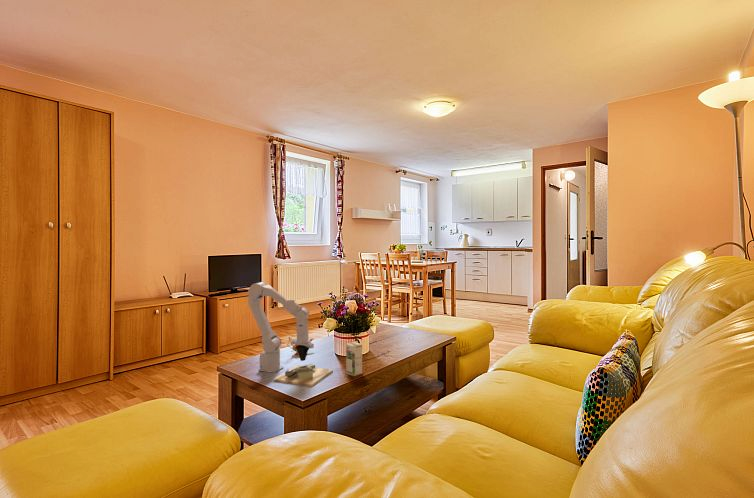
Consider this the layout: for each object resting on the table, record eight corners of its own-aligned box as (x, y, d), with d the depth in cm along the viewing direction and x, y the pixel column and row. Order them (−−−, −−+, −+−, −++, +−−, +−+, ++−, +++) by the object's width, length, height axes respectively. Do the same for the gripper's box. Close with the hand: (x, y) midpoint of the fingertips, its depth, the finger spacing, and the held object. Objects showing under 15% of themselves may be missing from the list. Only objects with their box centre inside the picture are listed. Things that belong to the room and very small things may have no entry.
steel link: (288, 377, 169) (288, 372, 169) (283, 375, 172) (283, 370, 172) (315, 368, 181) (315, 363, 181) (310, 366, 184) (310, 361, 184)
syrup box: (345, 373, 179) (345, 343, 179) (354, 370, 183) (354, 341, 183) (353, 376, 175) (353, 346, 175) (362, 373, 179) (362, 343, 179)
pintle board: (273, 381, 170) (273, 376, 170) (297, 367, 189) (297, 363, 189) (311, 386, 163) (311, 382, 163) (332, 371, 182) (332, 367, 182)
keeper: (298, 379, 169) (298, 370, 169) (297, 376, 173) (297, 368, 173) (312, 377, 172) (312, 369, 172) (311, 374, 175) (311, 366, 175)
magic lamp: (317, 351, 217) (317, 332, 217) (291, 358, 204) (290, 338, 203) (310, 349, 221) (310, 330, 221) (284, 355, 208) (283, 336, 208)
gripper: (318, 333, 183) (318, 361, 183) (299, 329, 192) (300, 355, 192) (306, 336, 177) (307, 364, 178) (288, 332, 187) (288, 358, 187)
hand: (302, 360), depth 185 cm, fingers closed
